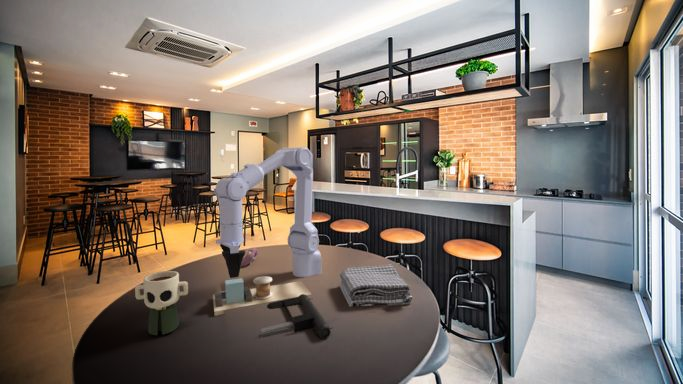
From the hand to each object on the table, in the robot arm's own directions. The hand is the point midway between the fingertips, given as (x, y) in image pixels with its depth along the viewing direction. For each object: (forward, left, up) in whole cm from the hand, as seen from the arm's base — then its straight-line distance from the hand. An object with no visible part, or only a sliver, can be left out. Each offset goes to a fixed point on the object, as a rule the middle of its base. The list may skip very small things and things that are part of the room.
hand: (232, 272), depth 84 cm
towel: (-38, +11, -10) cm, 41 cm away
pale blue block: (0, 0, -8) cm, 8 cm away
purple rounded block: (-9, -36, -10) cm, 38 cm away
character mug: (+16, +7, -9) cm, 20 cm away
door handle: (-12, +15, -10) cm, 22 cm away
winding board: (-8, -1, -9) cm, 12 cm away
